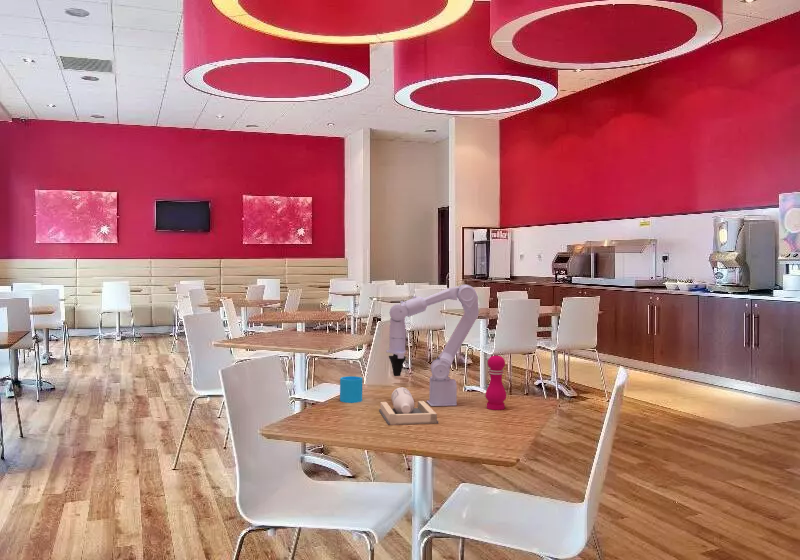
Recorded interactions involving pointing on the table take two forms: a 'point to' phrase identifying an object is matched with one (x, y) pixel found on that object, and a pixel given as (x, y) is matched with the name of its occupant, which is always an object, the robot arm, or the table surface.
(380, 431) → the table surface
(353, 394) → the mug
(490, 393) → the pepper mill
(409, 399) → the bath foam
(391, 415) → the cradle
